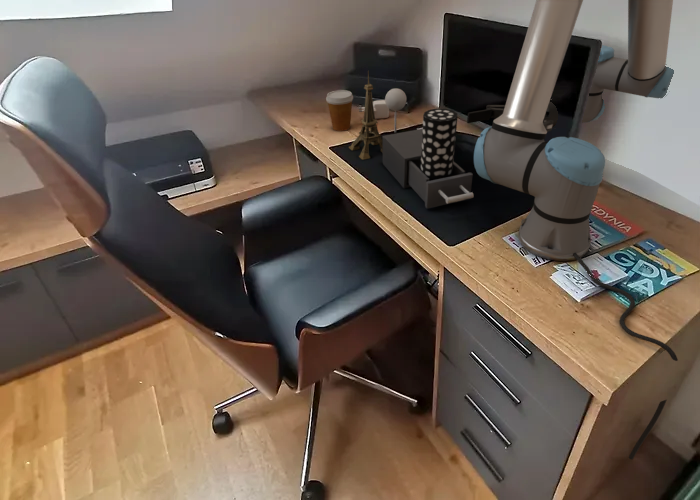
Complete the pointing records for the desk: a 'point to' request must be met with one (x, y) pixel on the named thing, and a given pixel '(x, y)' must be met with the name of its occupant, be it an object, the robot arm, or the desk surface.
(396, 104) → the lollipop
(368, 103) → the eiffel tower
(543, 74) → the robot arm
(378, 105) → the power adapter
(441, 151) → the white-spotted black cylinder
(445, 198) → the drawer
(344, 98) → the disposable coffee cup
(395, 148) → the cabinet
